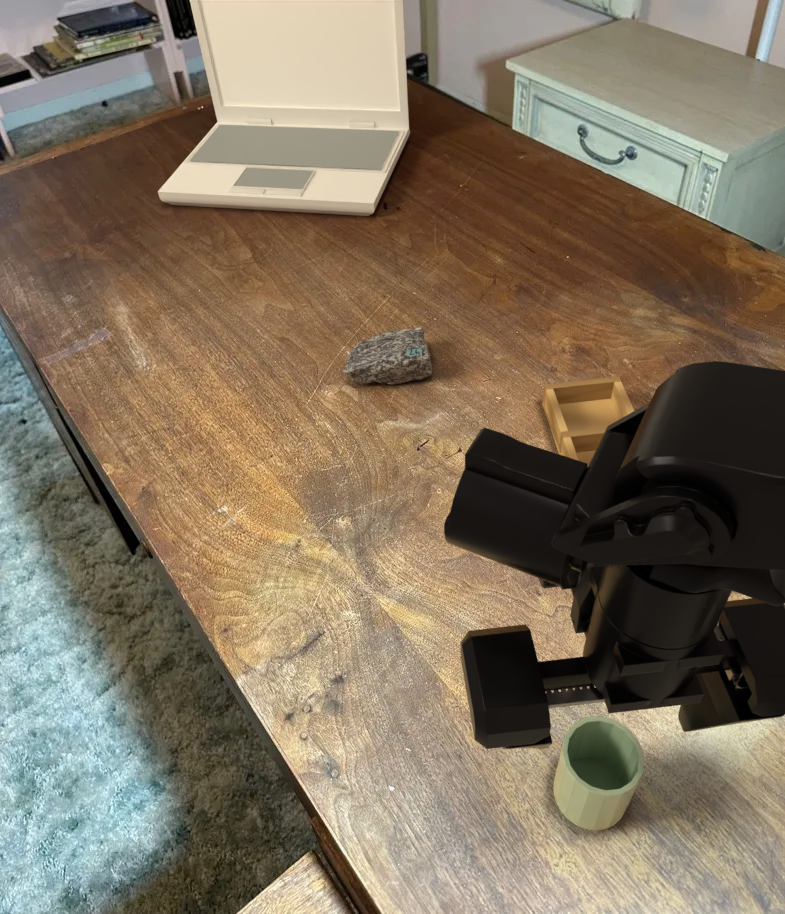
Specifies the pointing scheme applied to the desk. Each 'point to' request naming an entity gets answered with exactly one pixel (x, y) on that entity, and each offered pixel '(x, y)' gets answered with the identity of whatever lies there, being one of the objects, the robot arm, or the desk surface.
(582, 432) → the rack
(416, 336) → the rock
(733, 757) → the desk surface
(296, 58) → the laptop
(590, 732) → the cup
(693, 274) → the desk surface
